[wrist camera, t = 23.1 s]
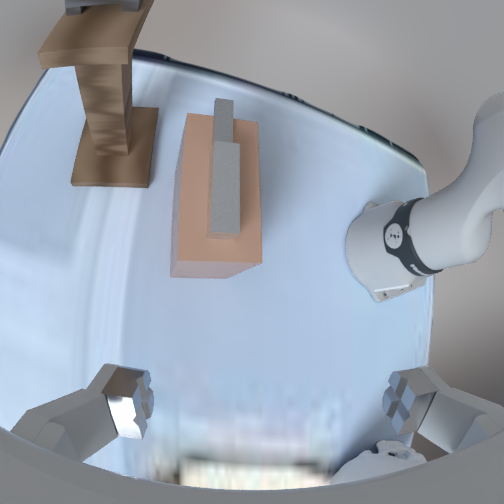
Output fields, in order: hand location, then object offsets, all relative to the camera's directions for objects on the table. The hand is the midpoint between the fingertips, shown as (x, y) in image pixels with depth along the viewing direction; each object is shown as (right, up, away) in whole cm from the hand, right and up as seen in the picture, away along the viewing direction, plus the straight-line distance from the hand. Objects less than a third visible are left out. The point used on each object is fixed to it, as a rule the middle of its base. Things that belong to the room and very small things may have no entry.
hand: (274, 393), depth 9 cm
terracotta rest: (-8, +9, +34) cm, 36 cm away
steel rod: (-4, +14, +20) cm, 25 cm away
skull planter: (+21, -38, +35) cm, 55 cm away
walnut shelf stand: (-22, +21, +32) cm, 44 cm away
